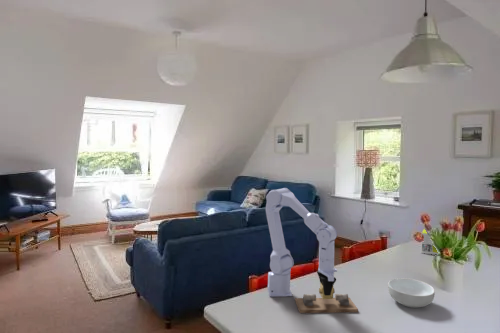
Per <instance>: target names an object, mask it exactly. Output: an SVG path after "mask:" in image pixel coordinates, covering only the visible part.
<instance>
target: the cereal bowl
mask: <svg viewBox="0 0 500 333" xmlns="http://www.w3.org/2000/svg"><path fill="white" fill-rule="evenodd" d="M387 290H388V293H389V296H390V297H391V298H392V299H394V301H396V302H397V303H399V304H401V306H402V305H403V306H405V307H407V308H412V309H413V308H414V309H415V308H421V307H427V306H428V305H430V304H431V303H432V302H433V301H434V298H435V293H436V292H435V288H434V287H433V286H432V285H430V284H429V283H427V282H425V281H422V280H418V279H414V278H406V277H405V278H403V277H402V278H401V277H400V278H399V277H397V278H394V279H390V280H389V281H388V282H387Z"/></svg>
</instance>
